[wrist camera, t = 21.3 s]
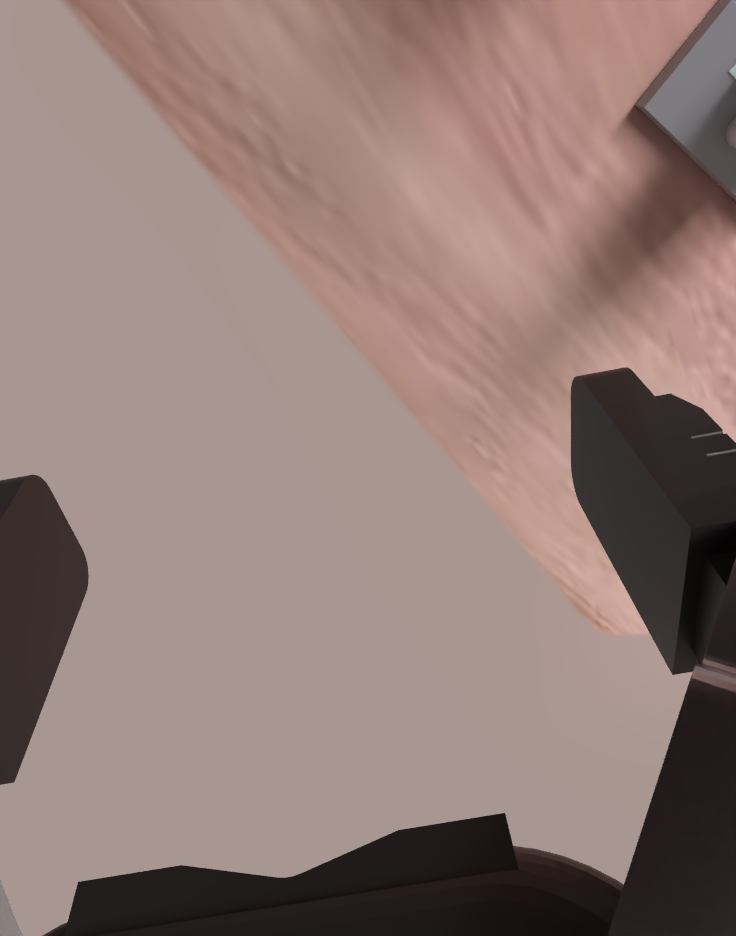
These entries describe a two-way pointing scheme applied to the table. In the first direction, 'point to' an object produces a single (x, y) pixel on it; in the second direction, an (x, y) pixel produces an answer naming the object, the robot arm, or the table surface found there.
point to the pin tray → (701, 96)
